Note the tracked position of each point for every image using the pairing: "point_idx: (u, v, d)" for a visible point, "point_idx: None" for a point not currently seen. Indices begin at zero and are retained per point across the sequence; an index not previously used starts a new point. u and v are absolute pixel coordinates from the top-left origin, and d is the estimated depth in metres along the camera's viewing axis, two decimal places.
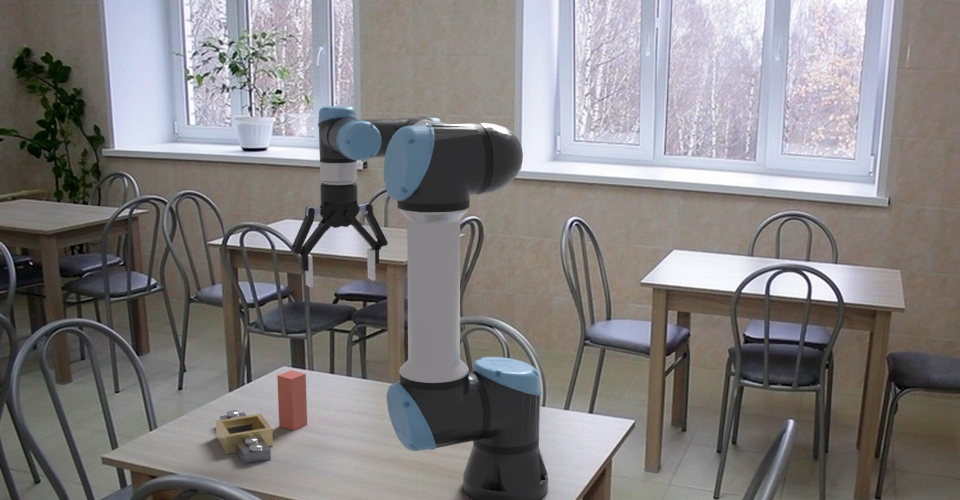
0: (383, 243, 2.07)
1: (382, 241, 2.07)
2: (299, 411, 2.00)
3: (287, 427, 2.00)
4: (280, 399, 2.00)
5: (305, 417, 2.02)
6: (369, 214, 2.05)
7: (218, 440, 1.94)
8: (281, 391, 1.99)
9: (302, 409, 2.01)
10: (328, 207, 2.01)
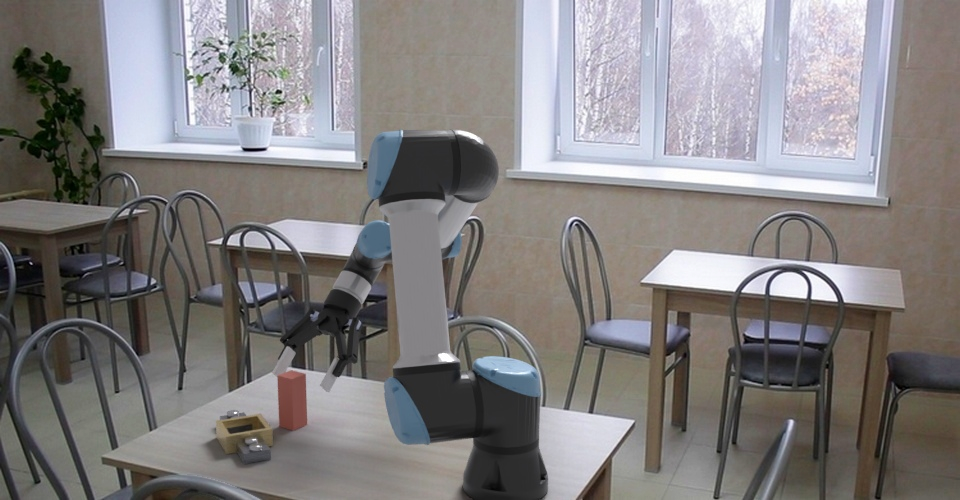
0: (347, 355, 2.01)
1: (348, 353, 2.01)
2: (299, 411, 2.00)
3: (287, 427, 2.00)
4: (280, 399, 2.00)
5: (305, 417, 2.02)
6: (351, 326, 2.05)
7: (218, 440, 1.94)
8: (281, 391, 1.99)
9: (302, 409, 2.01)
10: (324, 311, 2.11)
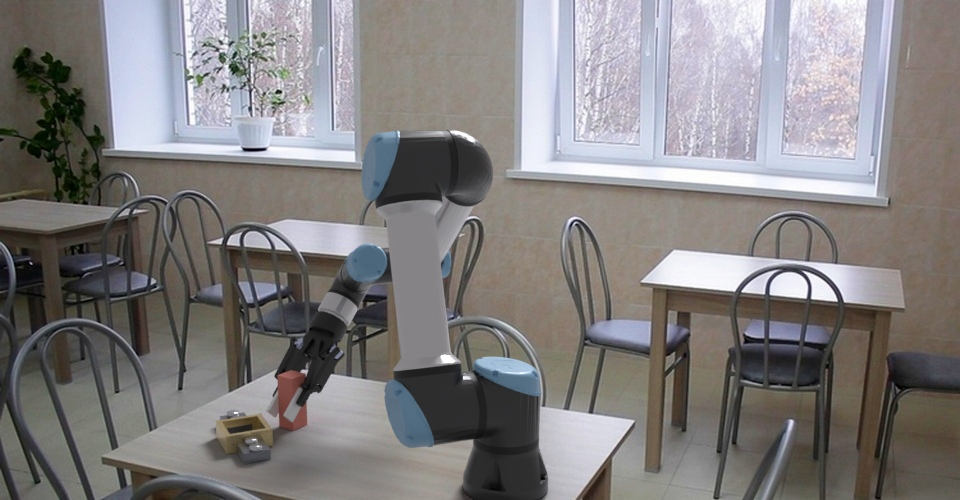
0: (312, 383, 1.98)
1: (313, 381, 1.98)
2: (299, 411, 2.00)
3: (287, 427, 2.00)
4: (280, 399, 2.00)
5: (305, 417, 2.02)
6: (330, 354, 2.01)
7: (218, 440, 1.94)
8: (281, 391, 1.99)
9: (302, 409, 2.01)
10: (308, 333, 2.07)
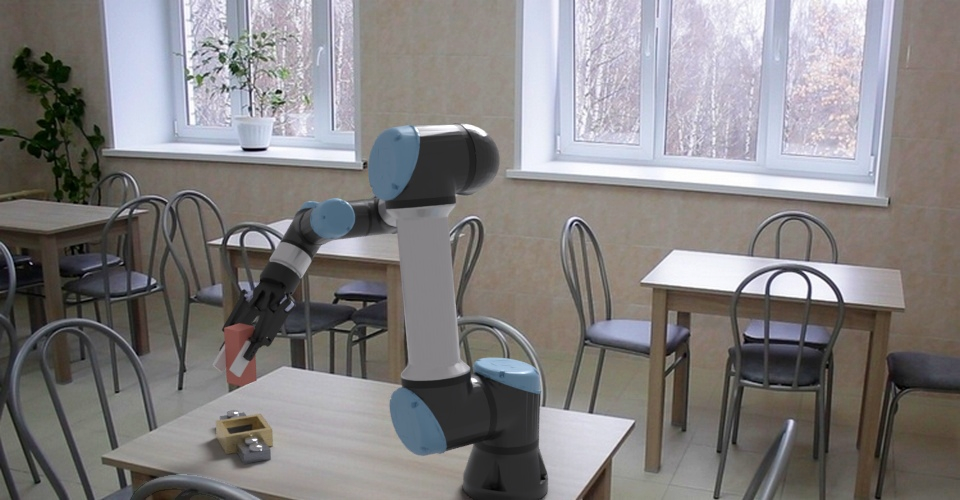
0: (260, 336, 1.87)
1: (262, 334, 1.87)
2: (247, 366, 1.89)
3: (235, 383, 1.89)
4: (227, 353, 1.89)
5: (254, 372, 1.91)
6: (280, 306, 1.90)
7: (218, 440, 1.94)
8: (228, 344, 1.88)
9: (251, 364, 1.90)
10: (258, 285, 1.96)
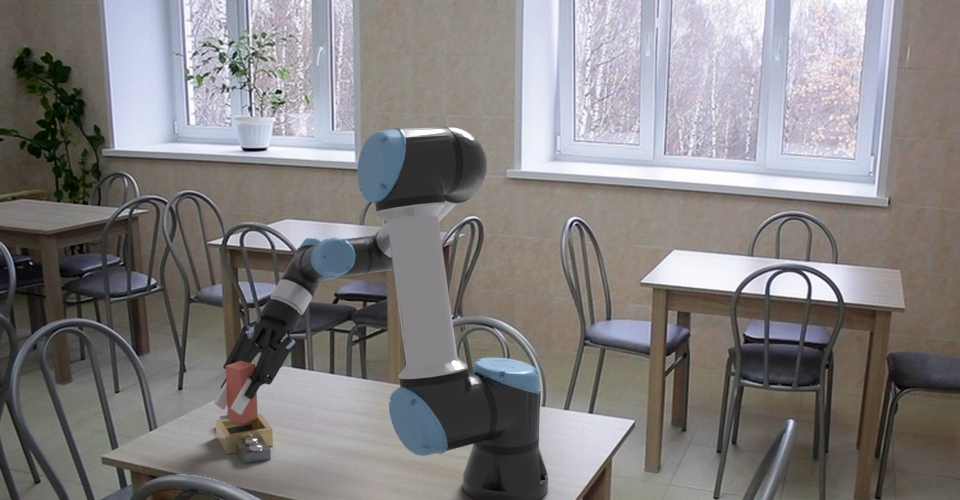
0: (261, 375, 1.89)
1: (263, 372, 1.89)
2: (248, 404, 1.91)
3: (236, 420, 1.91)
4: (229, 391, 1.91)
5: (255, 410, 1.93)
6: (281, 344, 1.92)
7: (218, 440, 1.94)
8: (229, 382, 1.90)
9: (252, 402, 1.92)
10: (259, 322, 1.98)
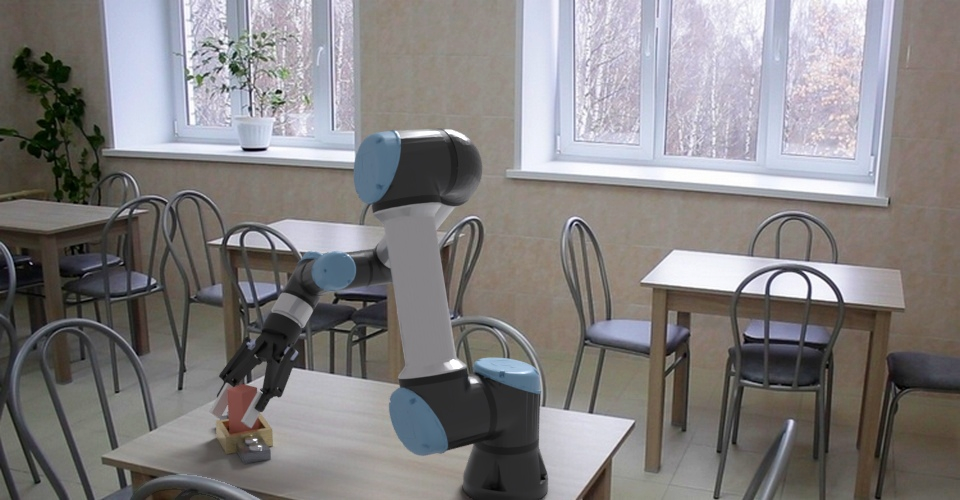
0: (271, 388, 1.88)
1: (272, 386, 1.89)
2: None
3: None
4: (230, 414, 1.91)
5: None
6: (285, 355, 1.92)
7: (218, 440, 1.94)
8: (231, 406, 1.91)
9: (254, 425, 1.92)
10: (261, 336, 1.98)
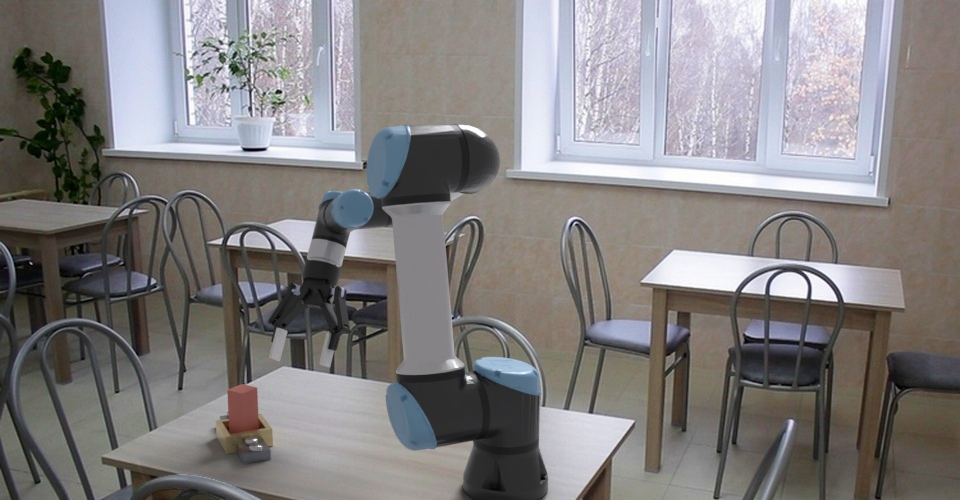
0: (339, 327, 1.97)
1: (338, 325, 1.97)
2: (250, 427, 1.92)
3: None
4: (230, 414, 1.91)
5: None
6: (335, 296, 2.00)
7: (218, 440, 1.94)
8: (231, 406, 1.91)
9: (254, 425, 1.92)
10: (305, 284, 2.05)
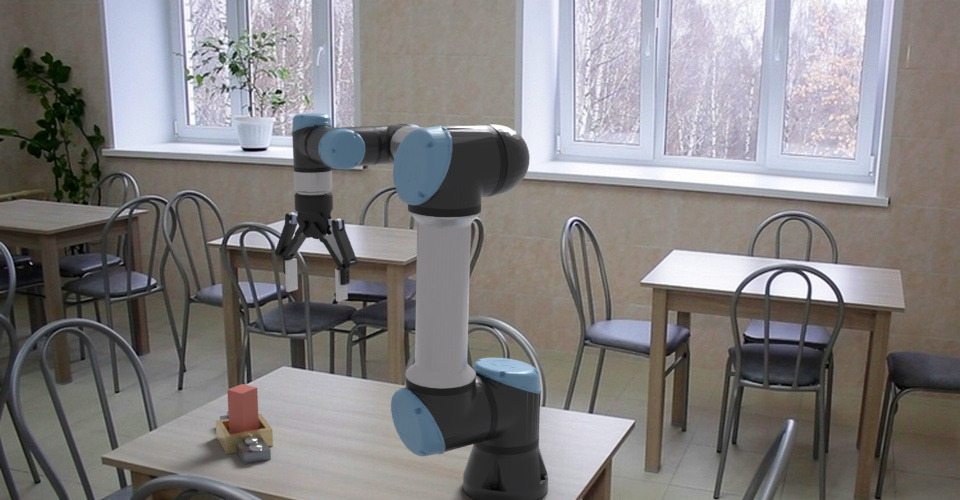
0: (345, 264, 1.92)
1: (345, 262, 1.92)
2: (250, 427, 1.92)
3: None
4: (230, 414, 1.91)
5: None
6: (333, 230, 1.93)
7: (218, 440, 1.94)
8: (231, 406, 1.91)
9: (254, 425, 1.92)
10: (300, 215, 1.97)
